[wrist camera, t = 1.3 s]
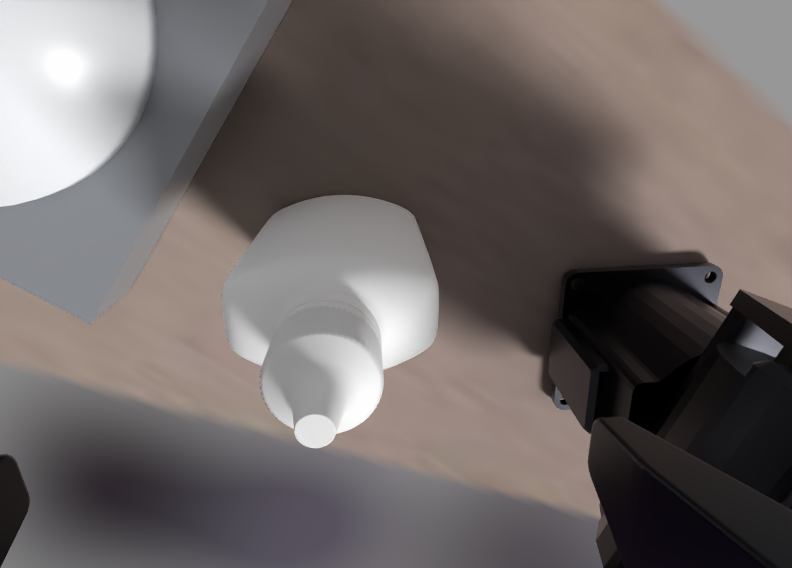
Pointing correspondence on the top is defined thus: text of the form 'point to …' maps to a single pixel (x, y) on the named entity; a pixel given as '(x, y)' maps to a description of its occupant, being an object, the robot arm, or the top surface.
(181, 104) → the dial scale
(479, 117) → the top surface
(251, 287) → the eye dropper bottle
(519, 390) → the top surface
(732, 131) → the top surface
